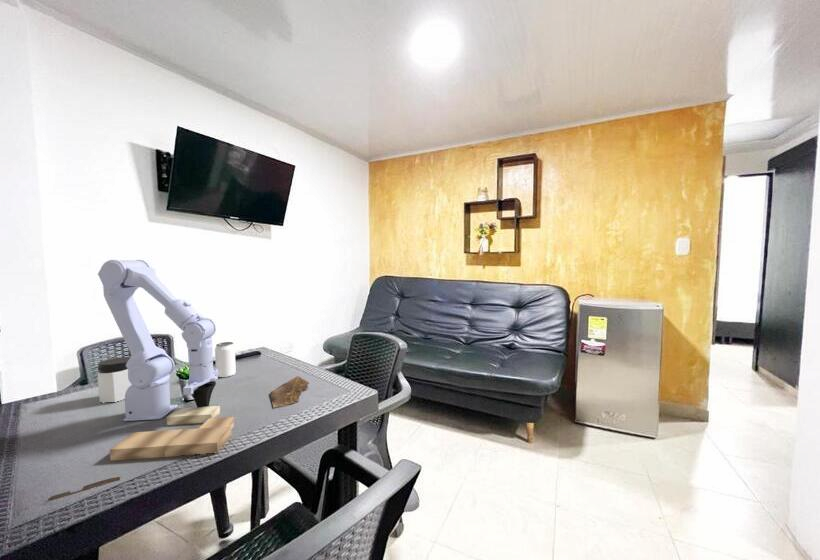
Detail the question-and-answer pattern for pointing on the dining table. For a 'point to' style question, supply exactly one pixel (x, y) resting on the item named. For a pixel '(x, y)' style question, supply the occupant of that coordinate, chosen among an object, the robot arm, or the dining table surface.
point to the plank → (192, 415)
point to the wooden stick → (85, 488)
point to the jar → (113, 379)
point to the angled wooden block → (175, 441)
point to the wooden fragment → (288, 392)
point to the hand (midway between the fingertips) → (203, 409)
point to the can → (225, 359)
